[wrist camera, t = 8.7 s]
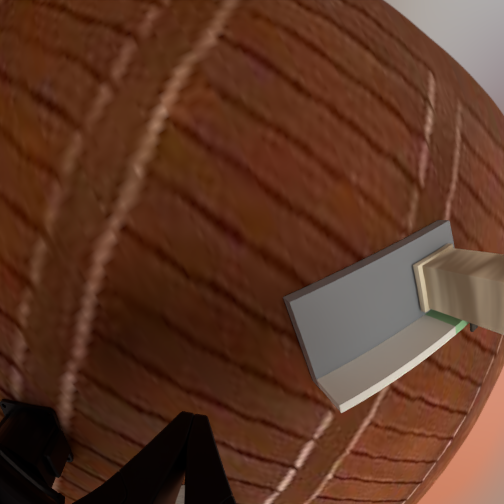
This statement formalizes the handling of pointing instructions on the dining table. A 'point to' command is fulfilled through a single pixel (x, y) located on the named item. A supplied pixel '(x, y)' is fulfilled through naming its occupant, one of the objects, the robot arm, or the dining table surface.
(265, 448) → the dining table surface
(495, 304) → the beige brown box
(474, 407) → the dining table surface
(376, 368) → the board
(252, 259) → the dining table surface
